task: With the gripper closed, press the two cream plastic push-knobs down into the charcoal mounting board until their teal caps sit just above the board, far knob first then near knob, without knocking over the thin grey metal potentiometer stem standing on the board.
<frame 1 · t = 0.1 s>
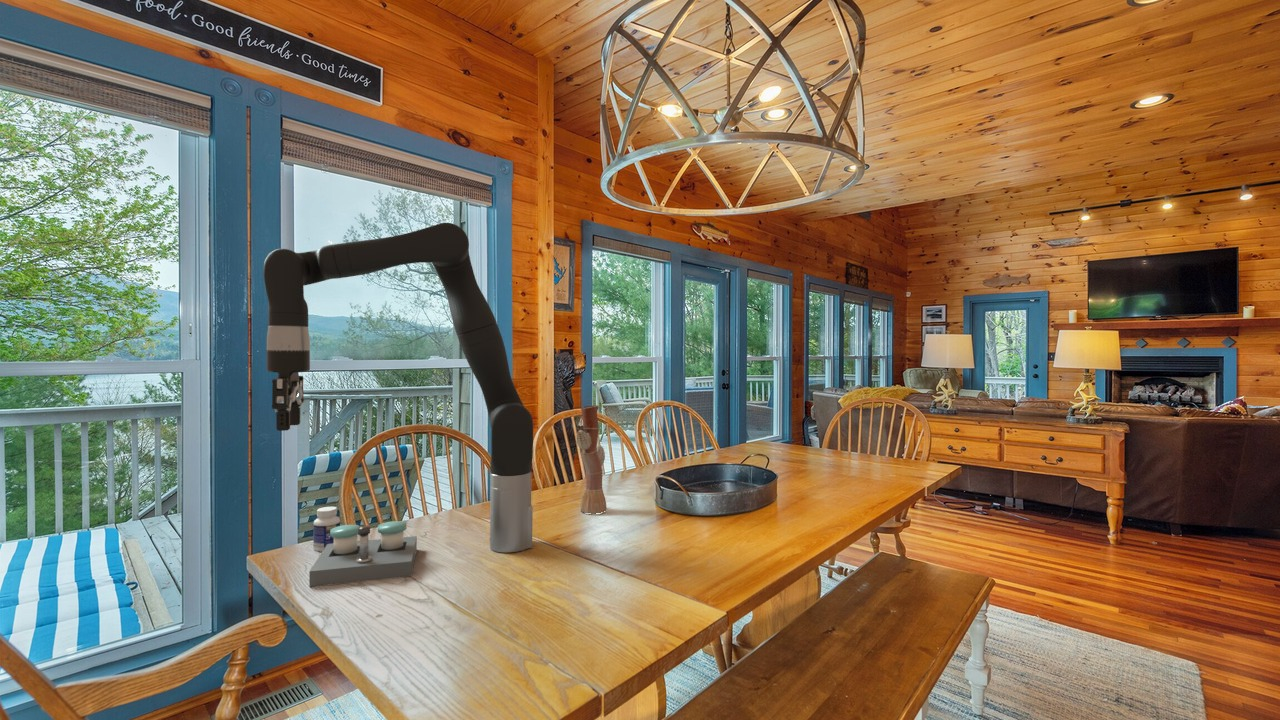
hand: (288, 427, 117), 29 cm above the table, fingers open, 8 cm apart
knob near: (392, 535, 121), point 5 cm above the table, slide at 0.0 cm
pill bottle: (326, 548, 129), on the table
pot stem: (364, 560, 113), point 3 cm above the table, touching mount board
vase: (590, 512, 159), on the table
knob far: (345, 539, 119), point 5 cm above the table, slide at 0.0 cm
mount board: (367, 566, 118), on the table
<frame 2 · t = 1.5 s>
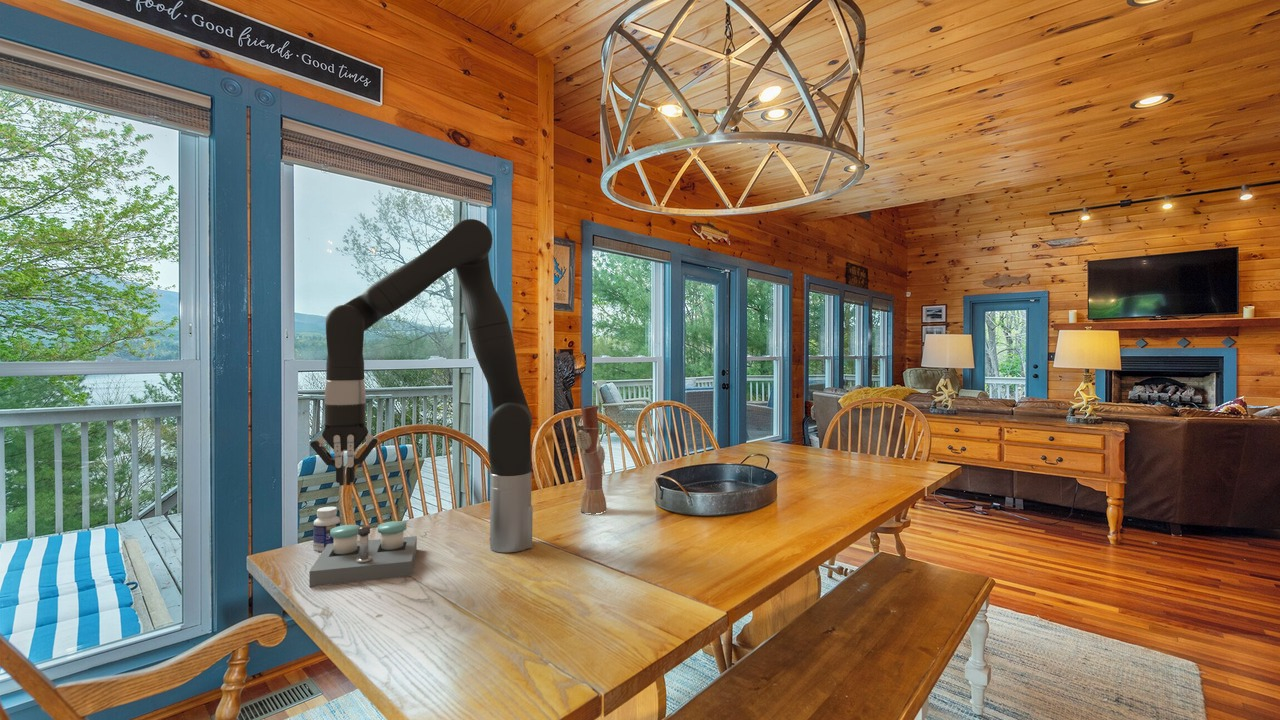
hand: (345, 484, 118), 17 cm above the table, fingers closed
nothing on the table moved.
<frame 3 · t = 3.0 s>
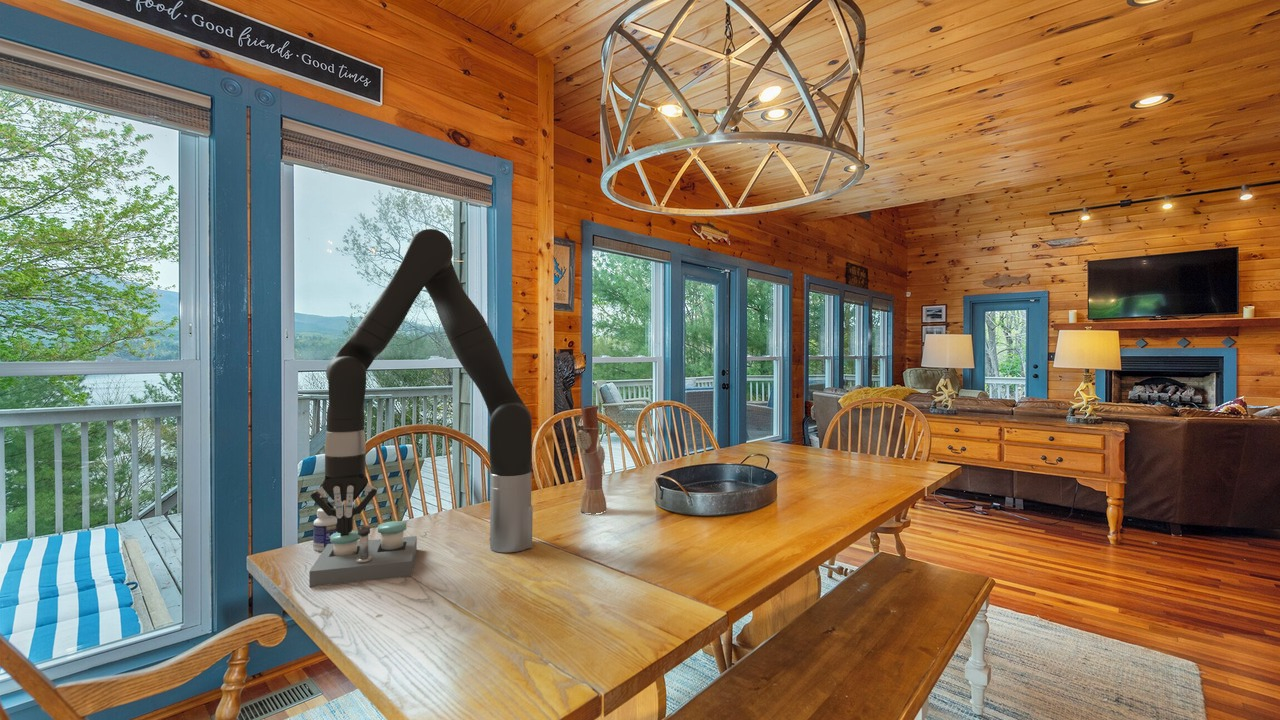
hand: (345, 534, 119), 7 cm above the table, fingers closed
knob far: (345, 545, 119), point 4 cm above the table, slide at 1.2 cm, touching gripper
everything else where it was.
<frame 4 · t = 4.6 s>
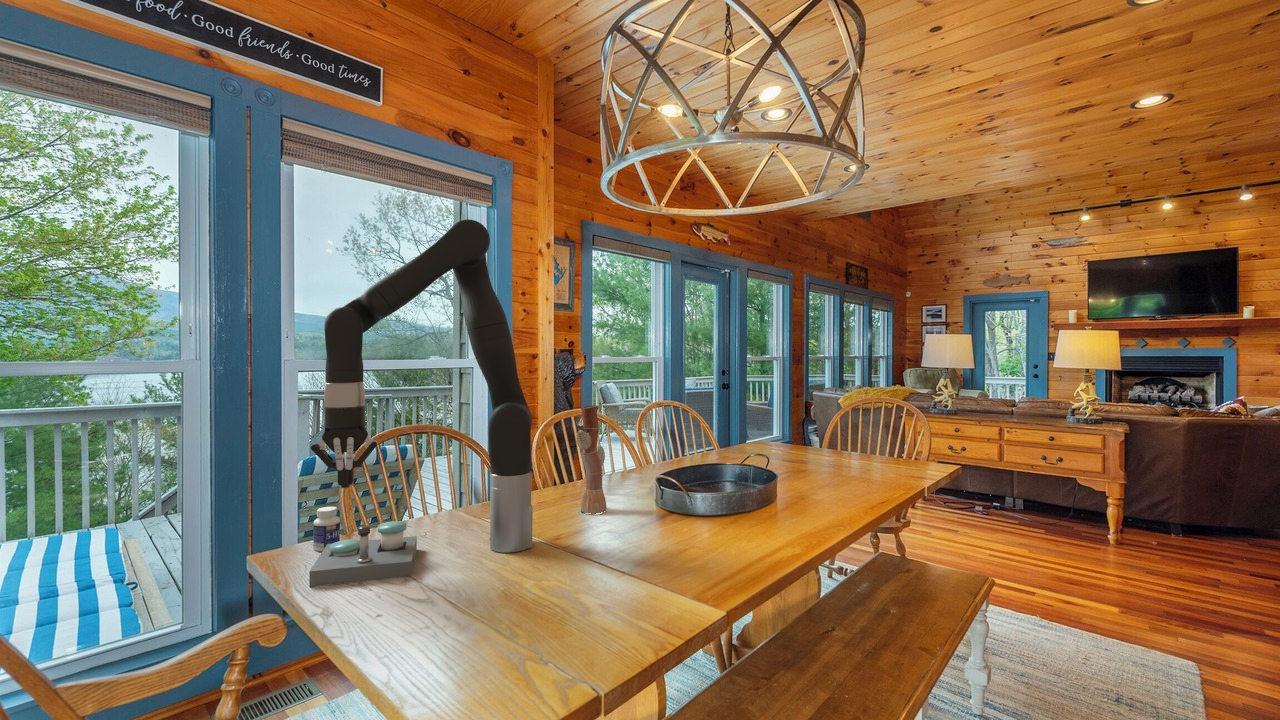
hand: (345, 487, 118), 16 cm above the table, fingers closed
knob far: (345, 554, 119), point 2 cm above the table, slide at 3.2 cm
everything else where it was.
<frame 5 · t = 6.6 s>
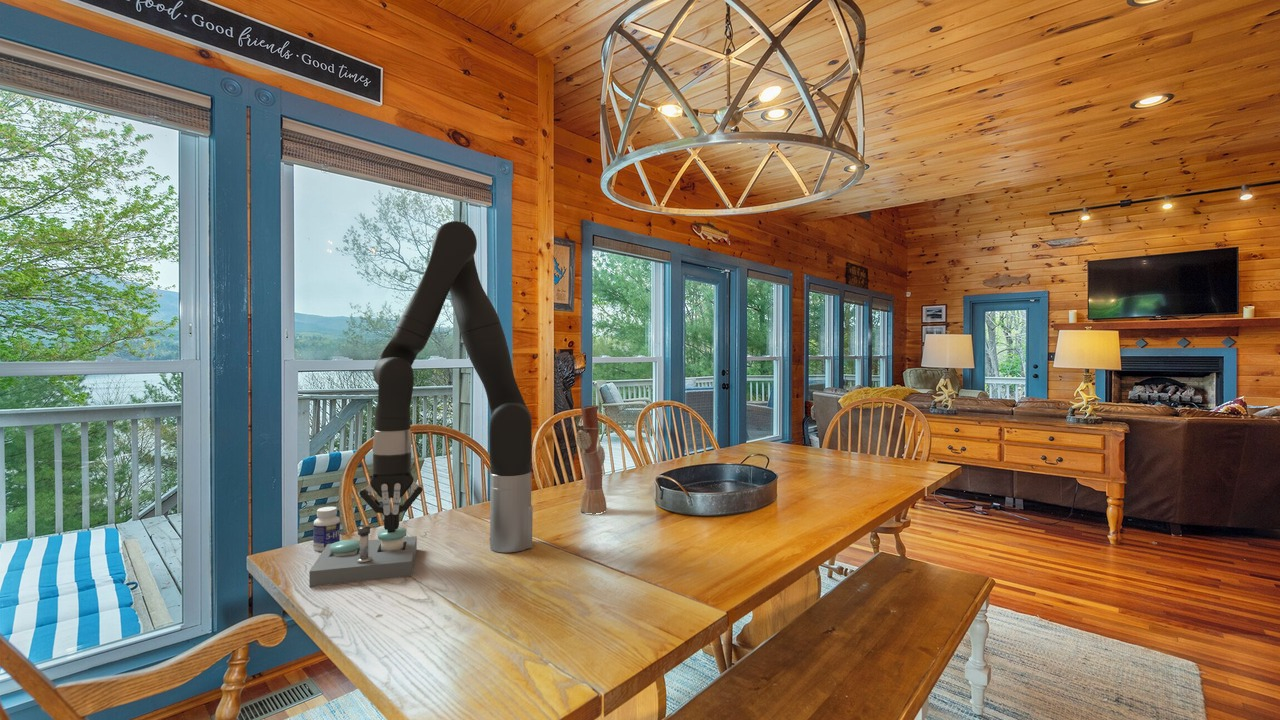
hand: (391, 531, 121), 6 cm above the table, fingers closed
knob near: (392, 541, 121), point 4 cm above the table, slide at 1.4 cm, touching gripper
everything else where it was.
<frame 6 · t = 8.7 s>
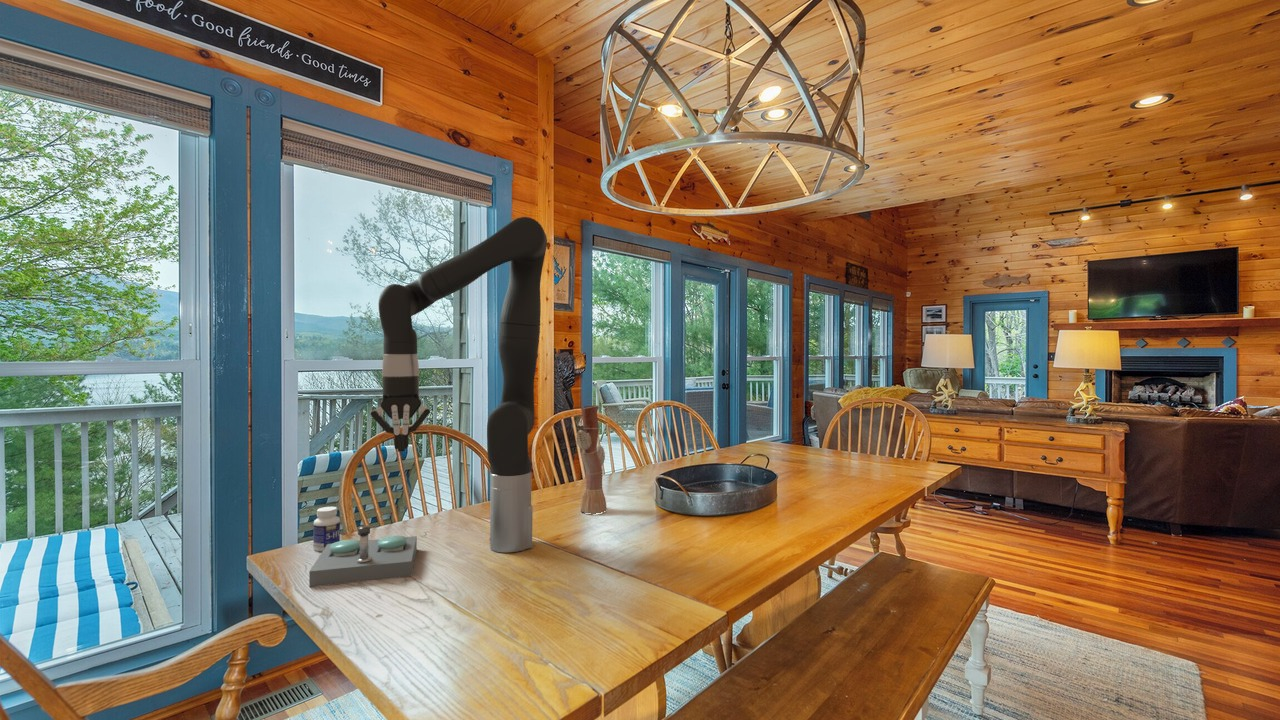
hand: (401, 450, 128), 22 cm above the table, fingers closed
knob near: (392, 550, 121), point 2 cm above the table, slide at 3.2 cm
everything else where it was.
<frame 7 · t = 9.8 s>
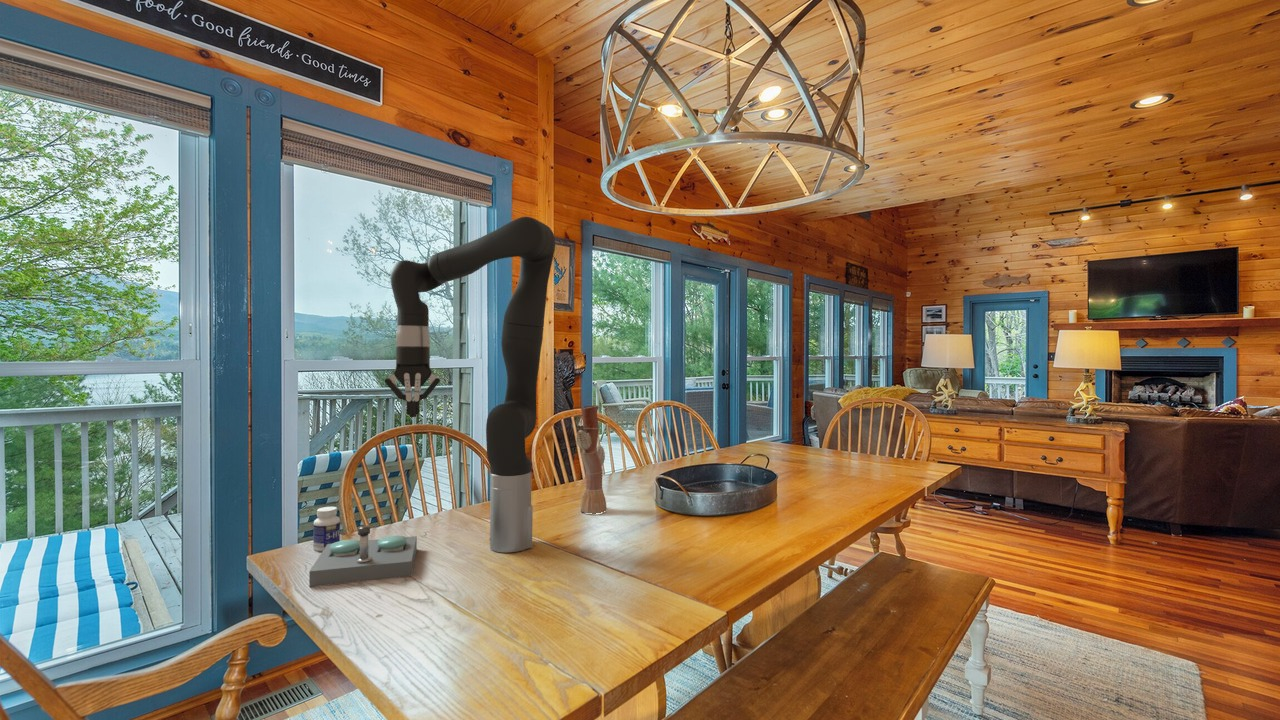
hand: (412, 416, 137), 29 cm above the table, fingers closed
nothing on the table moved.
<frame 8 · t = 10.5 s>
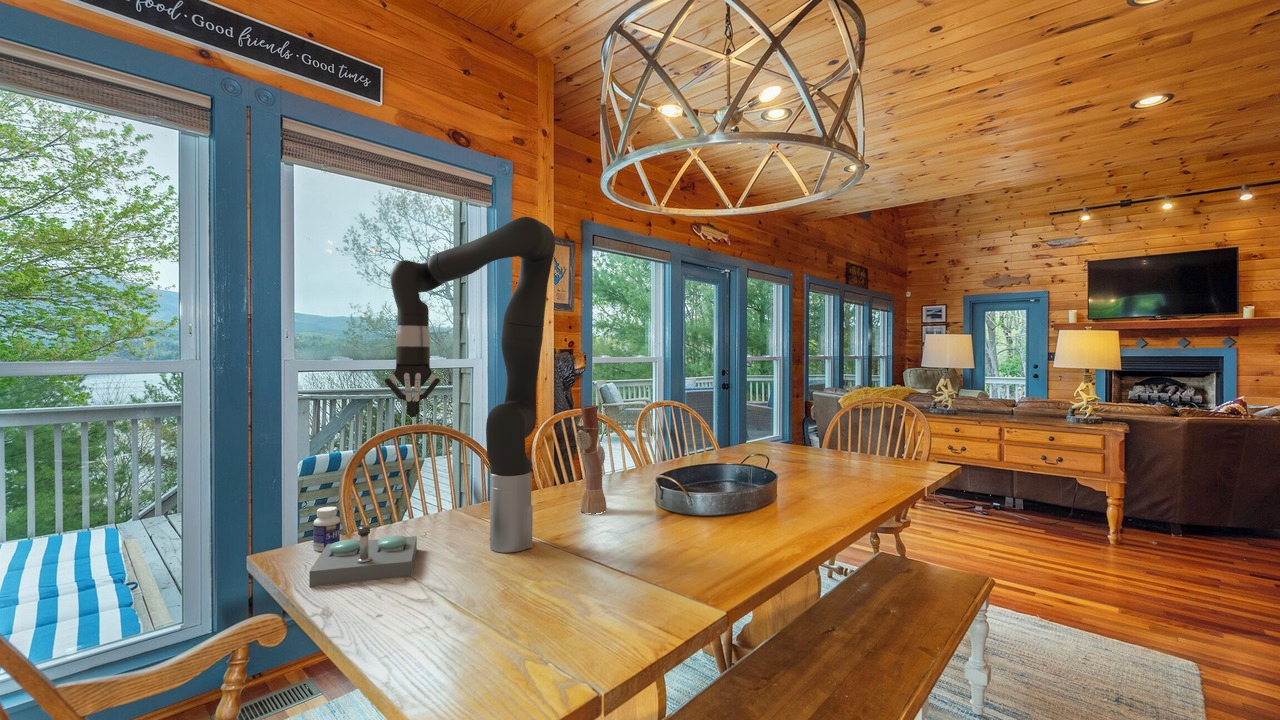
hand: (412, 416, 137), 29 cm above the table, fingers closed
nothing on the table moved.
at the end: knob far slide at 3.2 cm; knob near slide at 3.2 cm; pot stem tilted 0° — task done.
